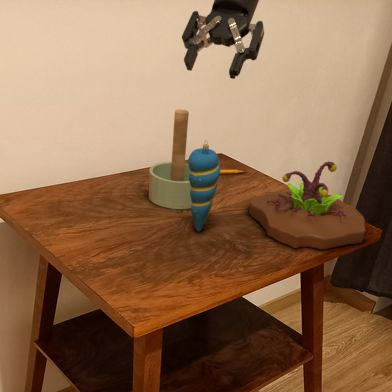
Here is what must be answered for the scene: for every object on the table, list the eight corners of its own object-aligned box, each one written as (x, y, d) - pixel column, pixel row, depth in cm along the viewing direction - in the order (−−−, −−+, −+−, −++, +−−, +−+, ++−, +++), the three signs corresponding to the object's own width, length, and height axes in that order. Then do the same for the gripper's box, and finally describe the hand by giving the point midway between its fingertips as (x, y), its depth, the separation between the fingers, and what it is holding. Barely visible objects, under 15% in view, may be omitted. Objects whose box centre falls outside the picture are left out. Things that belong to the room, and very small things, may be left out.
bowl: (141, 203, 98) (142, 176, 95) (157, 183, 106) (158, 158, 103) (195, 213, 97) (198, 186, 94) (207, 192, 105) (210, 167, 102)
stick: (160, 197, 100) (165, 112, 91) (167, 188, 103) (172, 106, 94) (184, 201, 99) (191, 116, 90) (190, 192, 103) (197, 110, 94)
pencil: (156, 171, 110) (157, 170, 109) (243, 169, 115) (244, 169, 115) (156, 175, 110) (157, 174, 110) (243, 173, 116) (245, 173, 115)
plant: (383, 246, 93) (404, 183, 86) (280, 253, 88) (294, 186, 81) (329, 199, 108) (344, 143, 101) (238, 202, 103) (247, 142, 96)
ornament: (192, 240, 89) (201, 147, 79) (176, 227, 92) (183, 137, 83) (218, 234, 91) (230, 144, 82) (202, 222, 94) (211, 134, 85)
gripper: (199, -30, 96) (168, 50, 95) (275, -20, 93) (243, 64, 91) (208, 3, 104) (179, 78, 102) (278, 14, 100) (249, 92, 98)
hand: (209, 71), depth 97 cm, fingers open, 8 cm apart
